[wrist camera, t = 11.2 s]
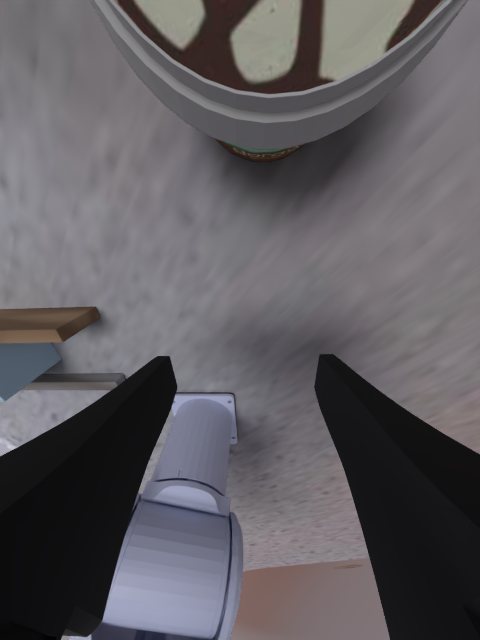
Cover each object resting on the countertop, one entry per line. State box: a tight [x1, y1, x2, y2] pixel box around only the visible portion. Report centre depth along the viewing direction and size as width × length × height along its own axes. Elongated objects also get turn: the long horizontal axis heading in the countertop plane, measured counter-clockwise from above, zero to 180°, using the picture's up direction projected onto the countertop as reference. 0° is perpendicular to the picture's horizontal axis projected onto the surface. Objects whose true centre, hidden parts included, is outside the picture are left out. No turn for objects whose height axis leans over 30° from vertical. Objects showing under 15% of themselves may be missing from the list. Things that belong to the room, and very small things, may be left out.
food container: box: [90, 0, 468, 162], centre depth 9 cm, size 12×6×10 cm, turn 106°
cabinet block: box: [0, 342, 61, 402], centre depth 20 cm, size 6×5×6 cm
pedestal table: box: [0, 307, 125, 390], centre depth 20 cm, size 10×16×4 cm, turn 93°
